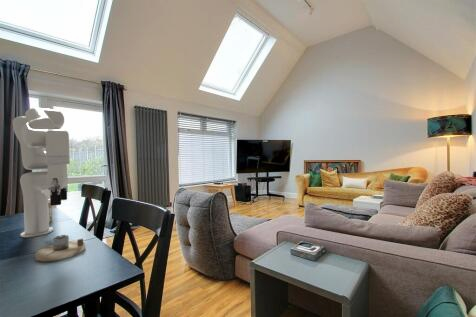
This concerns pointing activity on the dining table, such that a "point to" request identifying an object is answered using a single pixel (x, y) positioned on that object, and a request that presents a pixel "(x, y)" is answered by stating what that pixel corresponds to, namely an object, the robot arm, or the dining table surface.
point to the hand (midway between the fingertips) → (59, 202)
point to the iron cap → (60, 242)
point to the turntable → (52, 255)
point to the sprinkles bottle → (50, 210)
